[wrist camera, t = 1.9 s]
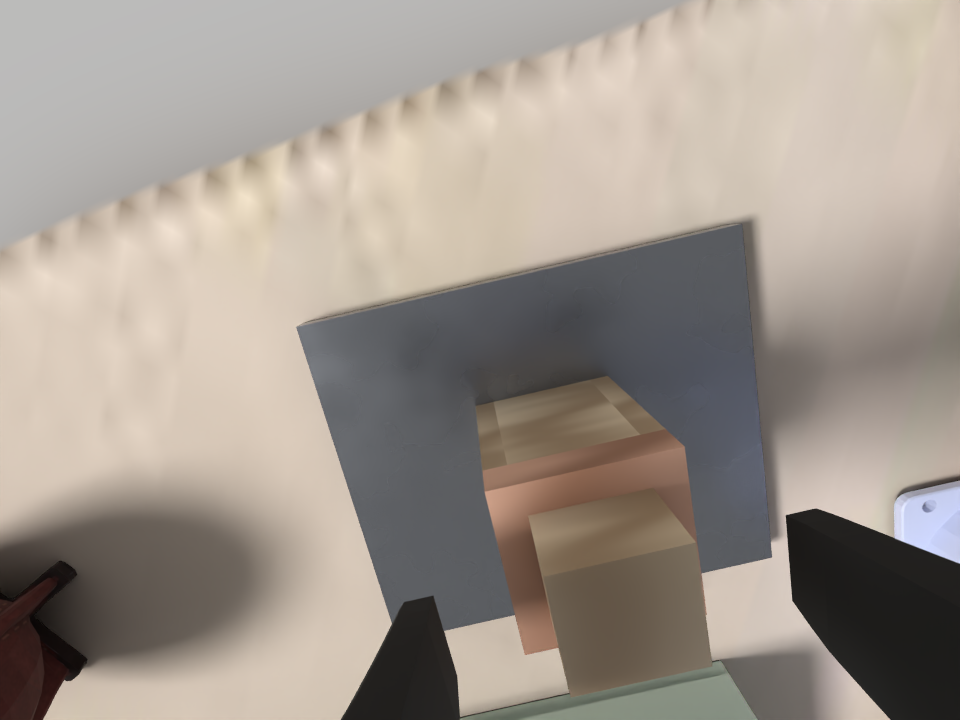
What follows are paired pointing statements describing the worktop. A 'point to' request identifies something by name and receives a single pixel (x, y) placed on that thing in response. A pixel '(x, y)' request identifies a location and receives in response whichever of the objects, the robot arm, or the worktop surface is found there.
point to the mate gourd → (33, 650)
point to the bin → (643, 701)
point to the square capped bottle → (595, 534)
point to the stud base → (532, 368)
